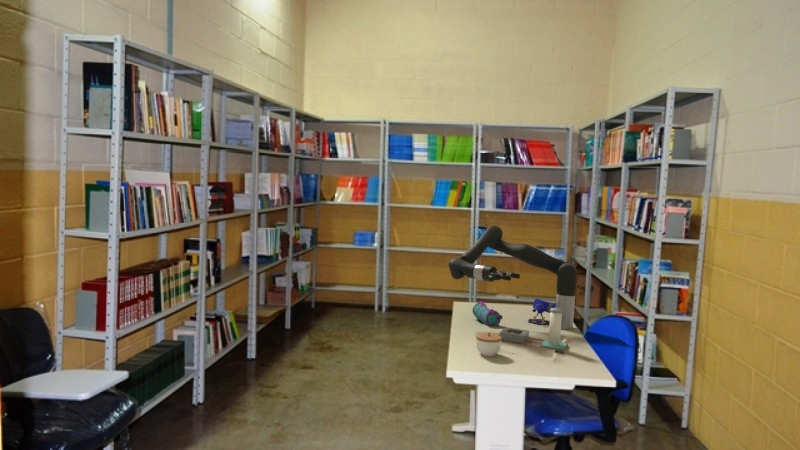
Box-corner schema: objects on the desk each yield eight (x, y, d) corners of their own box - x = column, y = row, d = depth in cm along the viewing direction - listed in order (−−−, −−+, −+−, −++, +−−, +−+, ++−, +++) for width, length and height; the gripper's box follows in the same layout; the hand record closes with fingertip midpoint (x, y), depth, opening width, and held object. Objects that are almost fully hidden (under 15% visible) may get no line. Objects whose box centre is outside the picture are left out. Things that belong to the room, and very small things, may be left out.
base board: (503, 335, 272) (503, 333, 272) (567, 345, 260) (567, 343, 260) (495, 342, 260) (495, 340, 259) (562, 353, 247) (562, 351, 247)
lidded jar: (506, 356, 240) (507, 334, 239) (485, 359, 234) (487, 337, 233) (489, 349, 249) (491, 328, 248) (470, 352, 243) (471, 330, 243)
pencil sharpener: (566, 326, 297) (568, 302, 296) (534, 326, 293) (536, 302, 292) (553, 319, 311) (554, 296, 310) (522, 319, 308) (524, 296, 307)
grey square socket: (505, 334, 270) (505, 326, 270) (528, 338, 266) (529, 330, 265) (499, 339, 260) (499, 331, 260) (523, 343, 256) (524, 335, 255)
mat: (544, 340, 262) (544, 340, 262) (567, 344, 258) (567, 343, 258) (540, 346, 253) (540, 345, 253) (563, 349, 249) (563, 349, 249)
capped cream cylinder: (549, 342, 259) (551, 307, 258) (560, 343, 257) (563, 309, 255) (547, 344, 254) (549, 309, 253) (558, 346, 252) (561, 311, 251)
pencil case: (501, 328, 287) (503, 309, 286) (485, 328, 284) (486, 309, 284) (486, 318, 307) (487, 300, 306) (470, 318, 305) (471, 300, 304)
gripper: (492, 279, 281) (522, 283, 270) (476, 282, 270) (507, 287, 260) (493, 263, 280) (522, 267, 270) (477, 266, 269) (508, 270, 259)
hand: (515, 277), depth 265 cm, fingers open, 8 cm apart
